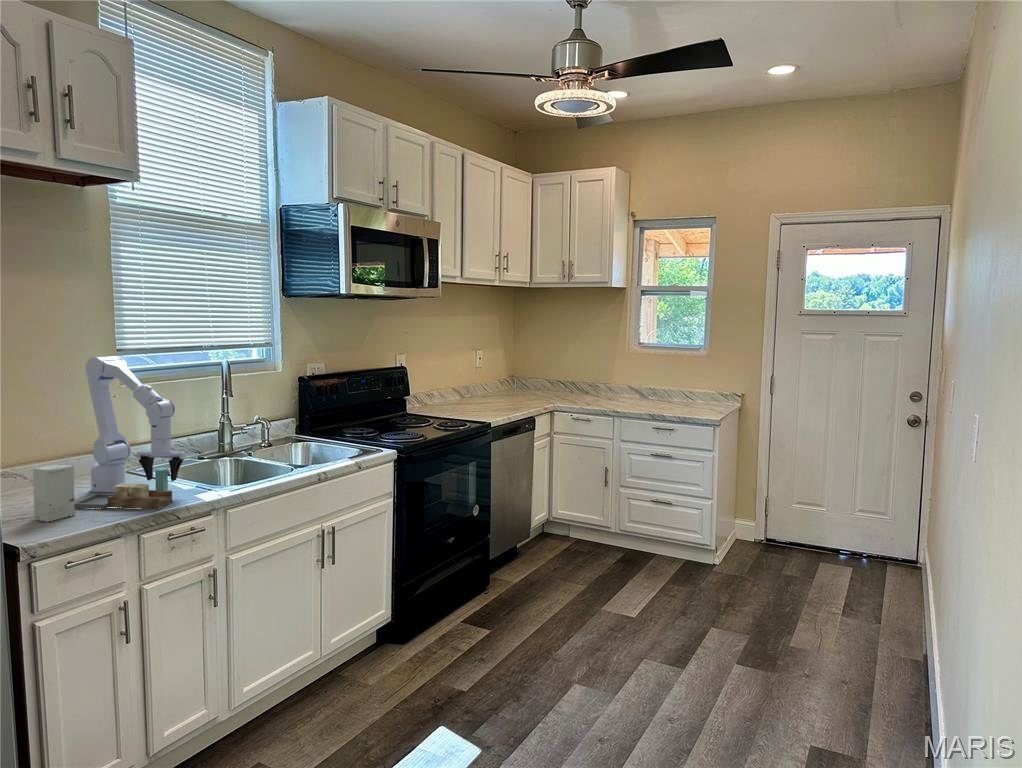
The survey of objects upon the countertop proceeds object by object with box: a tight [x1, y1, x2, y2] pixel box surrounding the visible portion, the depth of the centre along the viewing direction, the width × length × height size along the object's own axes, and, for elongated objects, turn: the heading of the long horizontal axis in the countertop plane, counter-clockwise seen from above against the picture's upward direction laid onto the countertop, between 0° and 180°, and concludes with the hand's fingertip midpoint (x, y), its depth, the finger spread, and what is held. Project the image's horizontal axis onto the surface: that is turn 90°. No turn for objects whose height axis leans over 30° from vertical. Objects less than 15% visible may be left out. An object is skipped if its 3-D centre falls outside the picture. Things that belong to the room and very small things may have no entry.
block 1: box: [113, 483, 135, 497], centre depth 211 cm, size 4×4×4 cm
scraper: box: [154, 467, 171, 491], centre depth 221 cm, size 3×5×9 cm, turn 0°
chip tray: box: [74, 492, 114, 510], centre depth 211 cm, size 10×12×2 cm
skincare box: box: [32, 463, 76, 523], centre depth 196 cm, size 8×6×15 cm
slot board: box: [108, 489, 173, 510], centre depth 211 cm, size 15×9×4 cm, turn 90°
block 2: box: [129, 483, 150, 497], centre depth 211 cm, size 4×4×4 cm
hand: (161, 479), depth 221 cm, fingers open, 7 cm apart
